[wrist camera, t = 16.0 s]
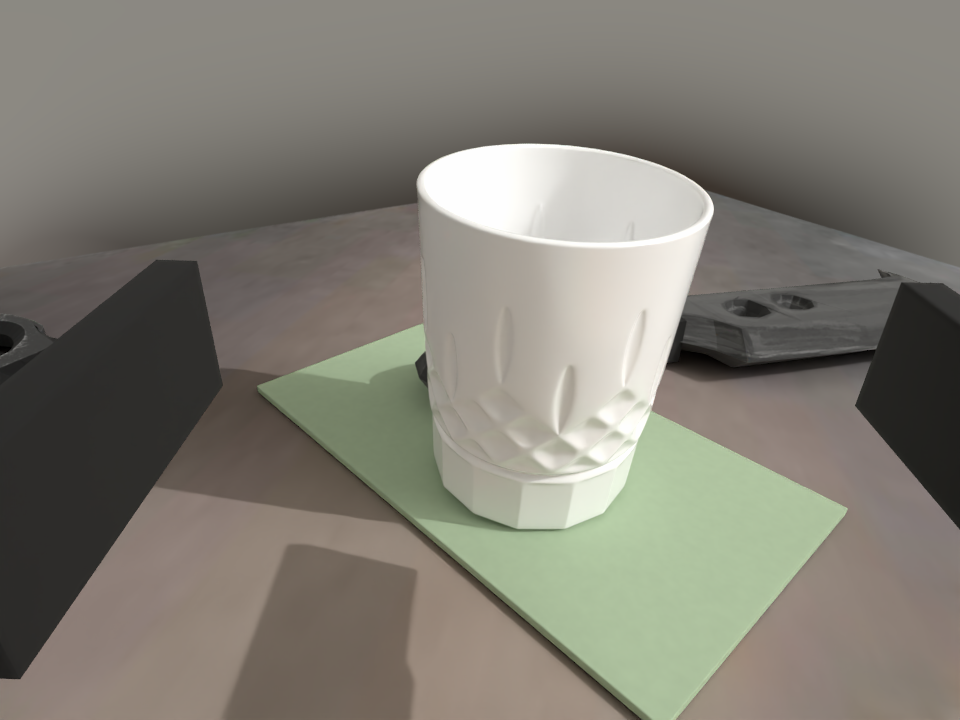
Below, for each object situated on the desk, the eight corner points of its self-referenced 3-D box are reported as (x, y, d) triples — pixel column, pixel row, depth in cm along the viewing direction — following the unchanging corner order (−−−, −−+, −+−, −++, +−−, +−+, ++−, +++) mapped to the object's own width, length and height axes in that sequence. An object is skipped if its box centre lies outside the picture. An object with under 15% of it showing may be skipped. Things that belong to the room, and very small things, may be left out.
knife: (391, 286, 31) (895, 249, 39) (393, 328, 32) (882, 284, 40) (427, 375, 24) (1041, 309, 31) (428, 425, 25) (1021, 350, 32)
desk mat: (257, 391, 28) (256, 385, 28) (452, 316, 34) (452, 311, 34) (661, 737, 15) (663, 729, 15) (845, 514, 22) (847, 508, 22)
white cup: (644, 569, 19) (734, 264, 14) (389, 524, 20) (377, 221, 15) (639, 410, 26) (698, 157, 20) (445, 381, 27) (452, 133, 21)
